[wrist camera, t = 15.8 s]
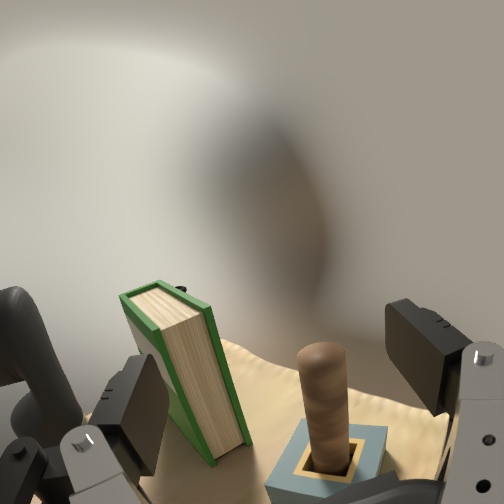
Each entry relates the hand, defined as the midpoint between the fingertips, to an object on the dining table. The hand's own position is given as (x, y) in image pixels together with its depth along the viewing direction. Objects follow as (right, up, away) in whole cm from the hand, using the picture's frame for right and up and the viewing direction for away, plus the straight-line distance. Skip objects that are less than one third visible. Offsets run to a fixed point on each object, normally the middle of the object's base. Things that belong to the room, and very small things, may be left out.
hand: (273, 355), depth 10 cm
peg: (+9, -25, +22) cm, 34 cm away
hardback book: (-9, -26, +37) cm, 46 cm away
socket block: (+10, -26, +22) cm, 35 cm away
